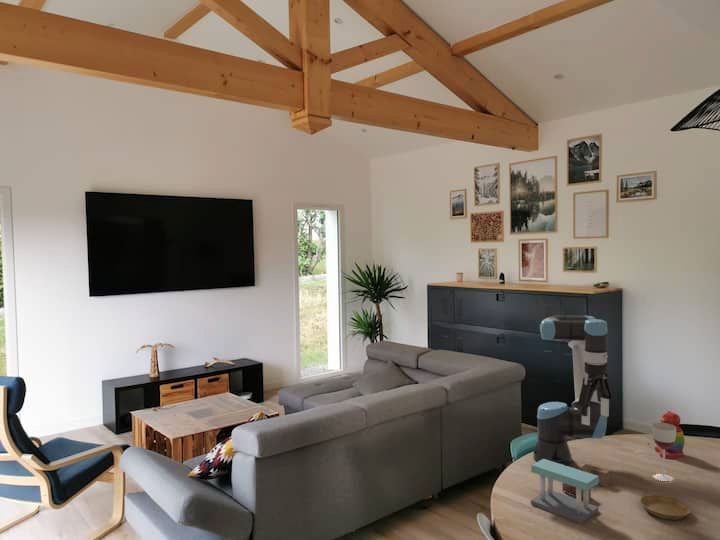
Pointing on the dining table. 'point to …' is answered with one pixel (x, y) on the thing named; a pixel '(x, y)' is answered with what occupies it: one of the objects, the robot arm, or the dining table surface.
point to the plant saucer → (665, 506)
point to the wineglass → (664, 443)
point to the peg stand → (564, 503)
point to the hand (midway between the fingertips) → (595, 419)
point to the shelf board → (565, 474)
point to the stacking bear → (679, 441)
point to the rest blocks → (603, 474)
